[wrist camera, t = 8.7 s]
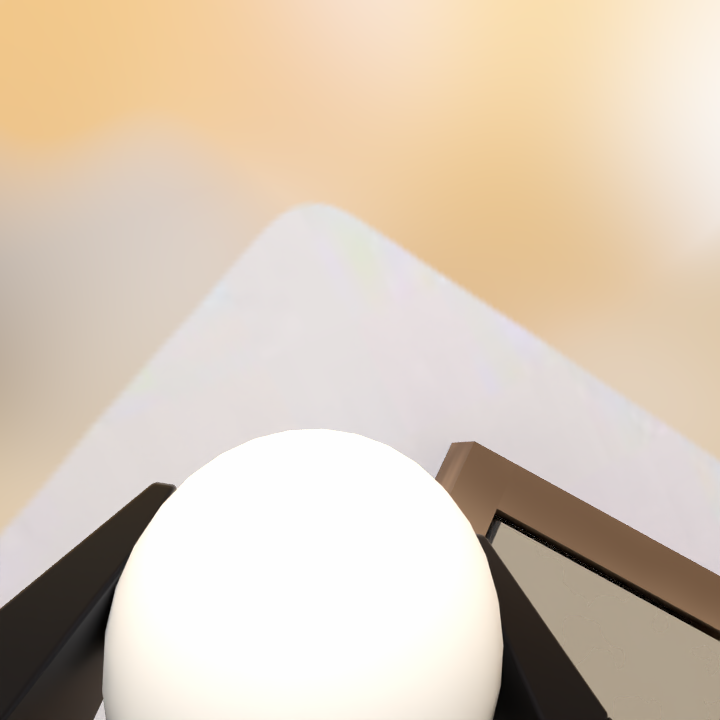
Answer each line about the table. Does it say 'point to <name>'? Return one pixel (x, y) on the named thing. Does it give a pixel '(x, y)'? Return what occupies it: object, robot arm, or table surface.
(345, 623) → the lightbulb
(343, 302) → the table surface
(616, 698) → the platform
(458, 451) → the brown picture frame
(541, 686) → the robot arm
